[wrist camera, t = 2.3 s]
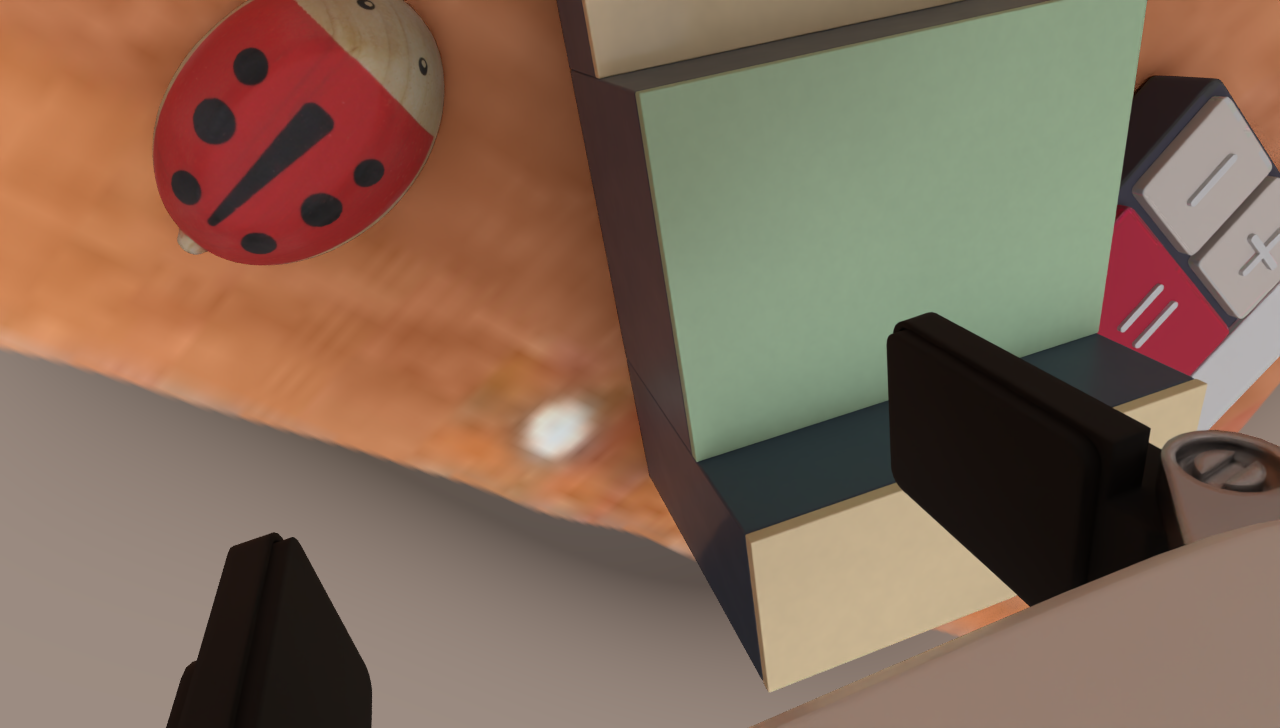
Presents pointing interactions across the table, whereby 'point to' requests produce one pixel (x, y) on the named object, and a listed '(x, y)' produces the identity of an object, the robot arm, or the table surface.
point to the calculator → (1196, 241)
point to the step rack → (848, 271)
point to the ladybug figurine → (296, 126)
